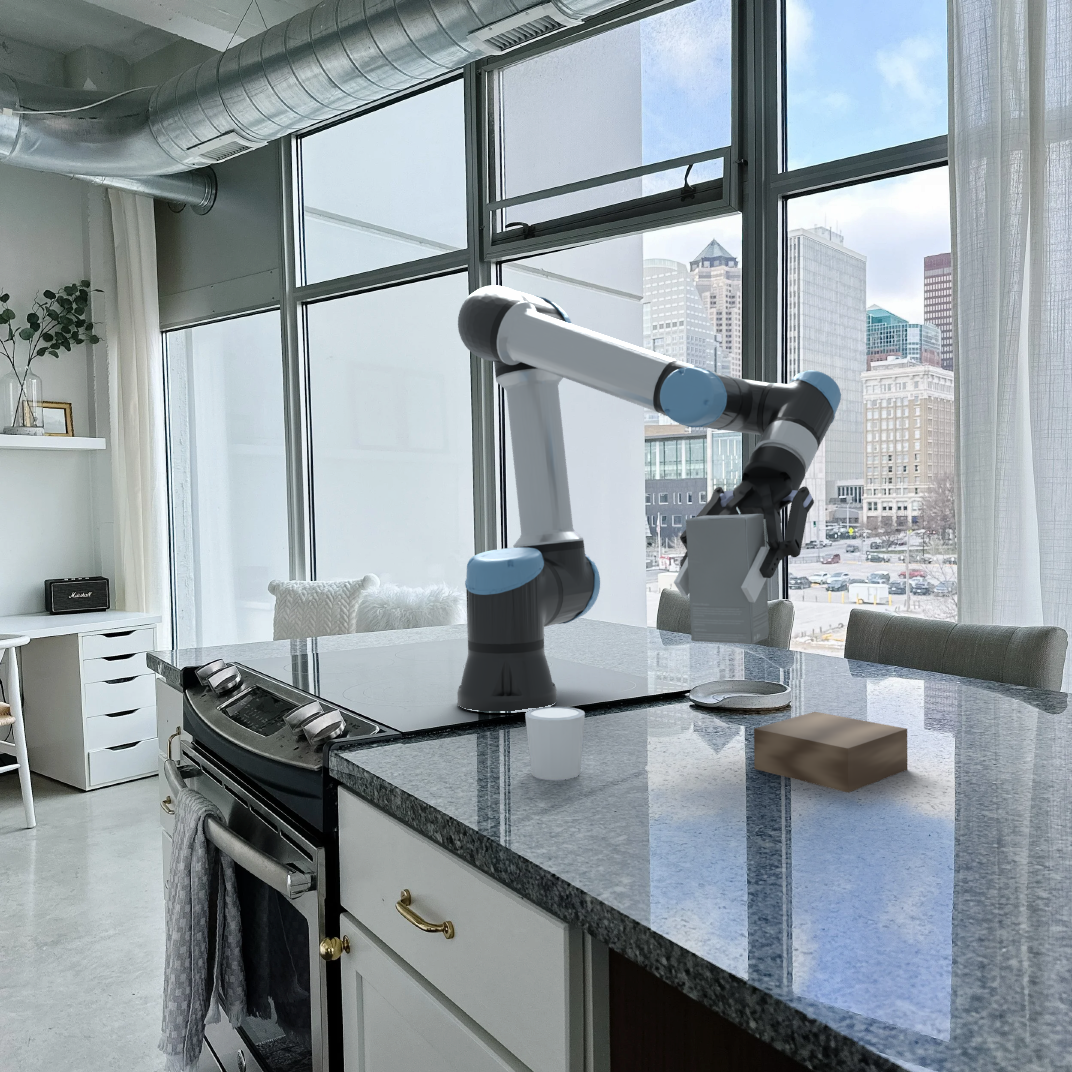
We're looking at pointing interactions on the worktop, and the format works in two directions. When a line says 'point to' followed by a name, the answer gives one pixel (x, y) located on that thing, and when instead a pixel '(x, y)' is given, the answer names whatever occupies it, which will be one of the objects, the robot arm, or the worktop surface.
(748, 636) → the skincare box
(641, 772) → the worktop surface
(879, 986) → the worktop surface
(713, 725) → the worktop surface
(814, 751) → the walnut block
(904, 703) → the worktop surface
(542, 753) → the white tapered cup
